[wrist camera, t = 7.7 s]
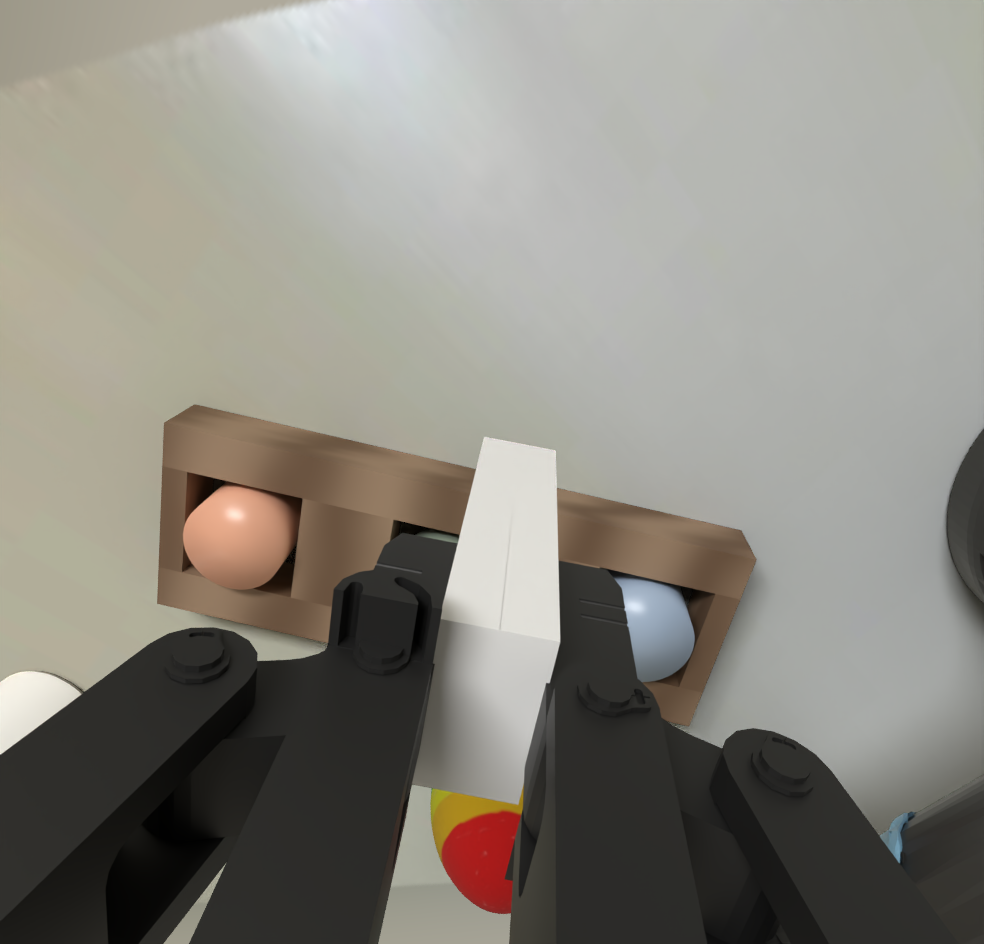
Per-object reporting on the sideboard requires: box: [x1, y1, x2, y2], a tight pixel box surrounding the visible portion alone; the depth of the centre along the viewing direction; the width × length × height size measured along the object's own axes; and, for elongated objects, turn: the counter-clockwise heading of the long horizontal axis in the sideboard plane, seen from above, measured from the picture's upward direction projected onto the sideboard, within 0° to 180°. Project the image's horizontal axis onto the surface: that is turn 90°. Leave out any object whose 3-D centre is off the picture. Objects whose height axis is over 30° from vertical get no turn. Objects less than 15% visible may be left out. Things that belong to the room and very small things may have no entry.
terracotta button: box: [183, 481, 303, 590], centre depth 36 cm, size 5×5×4 cm
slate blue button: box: [605, 568, 695, 682], centre depth 36 cm, size 5×5×4 cm
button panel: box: [157, 405, 756, 726], centre depth 37 cm, size 28×10×3 cm, turn 78°
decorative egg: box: [431, 784, 524, 914], centre depth 38 cm, size 8×8×10 cm
